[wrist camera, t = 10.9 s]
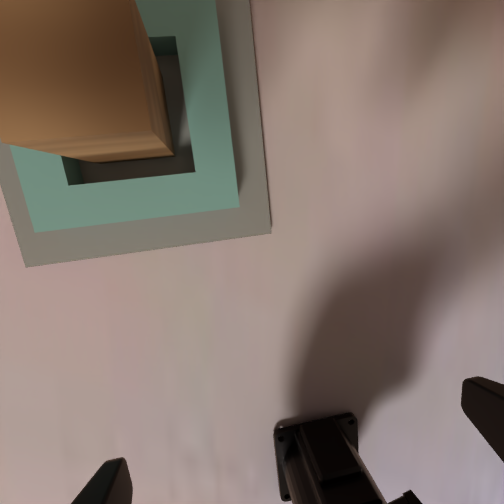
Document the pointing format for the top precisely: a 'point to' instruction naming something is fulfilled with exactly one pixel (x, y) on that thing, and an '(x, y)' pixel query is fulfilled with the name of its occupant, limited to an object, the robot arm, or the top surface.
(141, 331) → the top surface
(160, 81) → the walnut peg
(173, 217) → the socket block
